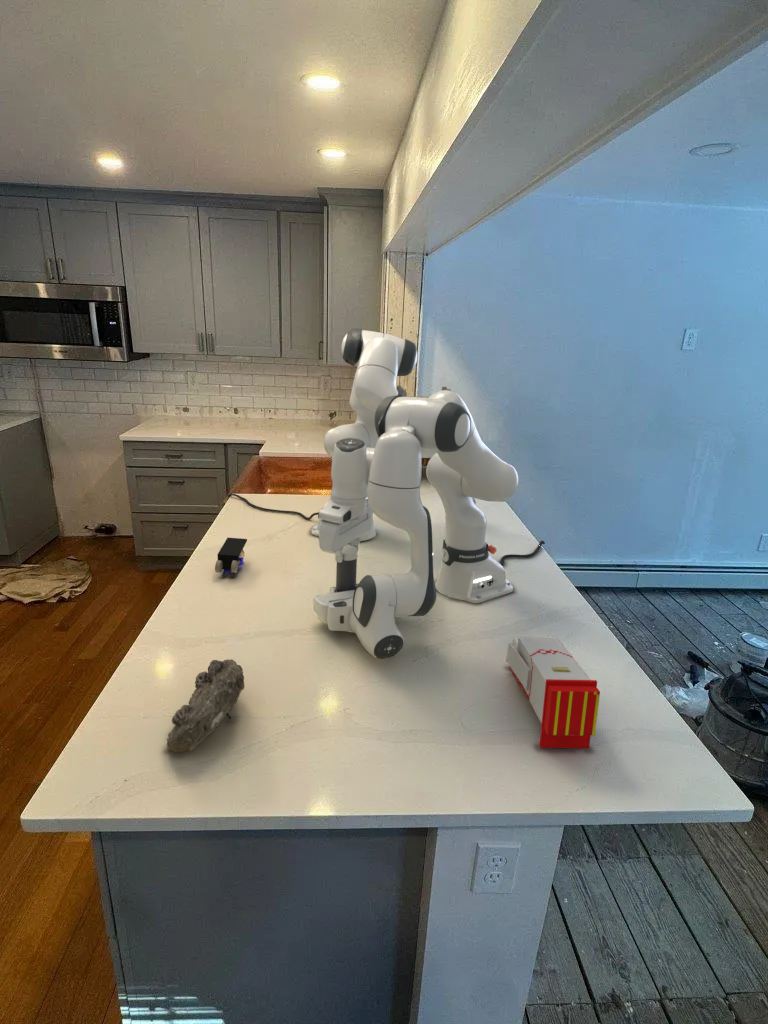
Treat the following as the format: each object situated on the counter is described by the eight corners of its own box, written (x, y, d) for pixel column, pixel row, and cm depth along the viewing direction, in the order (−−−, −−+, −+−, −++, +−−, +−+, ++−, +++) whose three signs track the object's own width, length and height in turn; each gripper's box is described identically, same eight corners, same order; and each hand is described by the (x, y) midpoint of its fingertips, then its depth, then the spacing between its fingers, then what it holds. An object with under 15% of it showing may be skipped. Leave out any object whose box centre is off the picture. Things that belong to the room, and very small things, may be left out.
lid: (340, 562, 141) (340, 555, 140) (333, 553, 146) (333, 546, 145) (361, 559, 143) (361, 552, 143) (352, 550, 148) (353, 544, 147)
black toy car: (238, 584, 162) (249, 557, 175) (236, 562, 158) (247, 536, 172) (215, 584, 161) (227, 556, 175) (212, 561, 158) (225, 535, 171)
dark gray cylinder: (333, 611, 147) (335, 554, 142) (337, 602, 152) (338, 546, 147) (353, 613, 147) (355, 556, 141) (356, 603, 152) (358, 548, 146)
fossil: (192, 660, 117) (244, 628, 112) (224, 691, 120) (276, 661, 115) (142, 746, 98) (202, 712, 93) (182, 779, 101) (242, 748, 96)
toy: (554, 620, 129) (609, 687, 99) (549, 674, 131) (601, 755, 102) (501, 619, 128) (541, 686, 99) (497, 673, 131) (534, 754, 102)
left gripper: (358, 492, 150) (356, 541, 154) (314, 514, 133) (314, 567, 137) (379, 497, 147) (377, 546, 152) (337, 519, 130) (336, 574, 135)
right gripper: (403, 595, 139) (381, 571, 151) (323, 608, 132) (307, 582, 143) (401, 617, 141) (380, 592, 153) (323, 631, 134) (307, 604, 146)
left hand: (346, 556), depth 144 cm, fingers closed on lid, 5 cm apart
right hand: (344, 587), depth 148 cm, fingers closed on dark gray cylinder, 5 cm apart
